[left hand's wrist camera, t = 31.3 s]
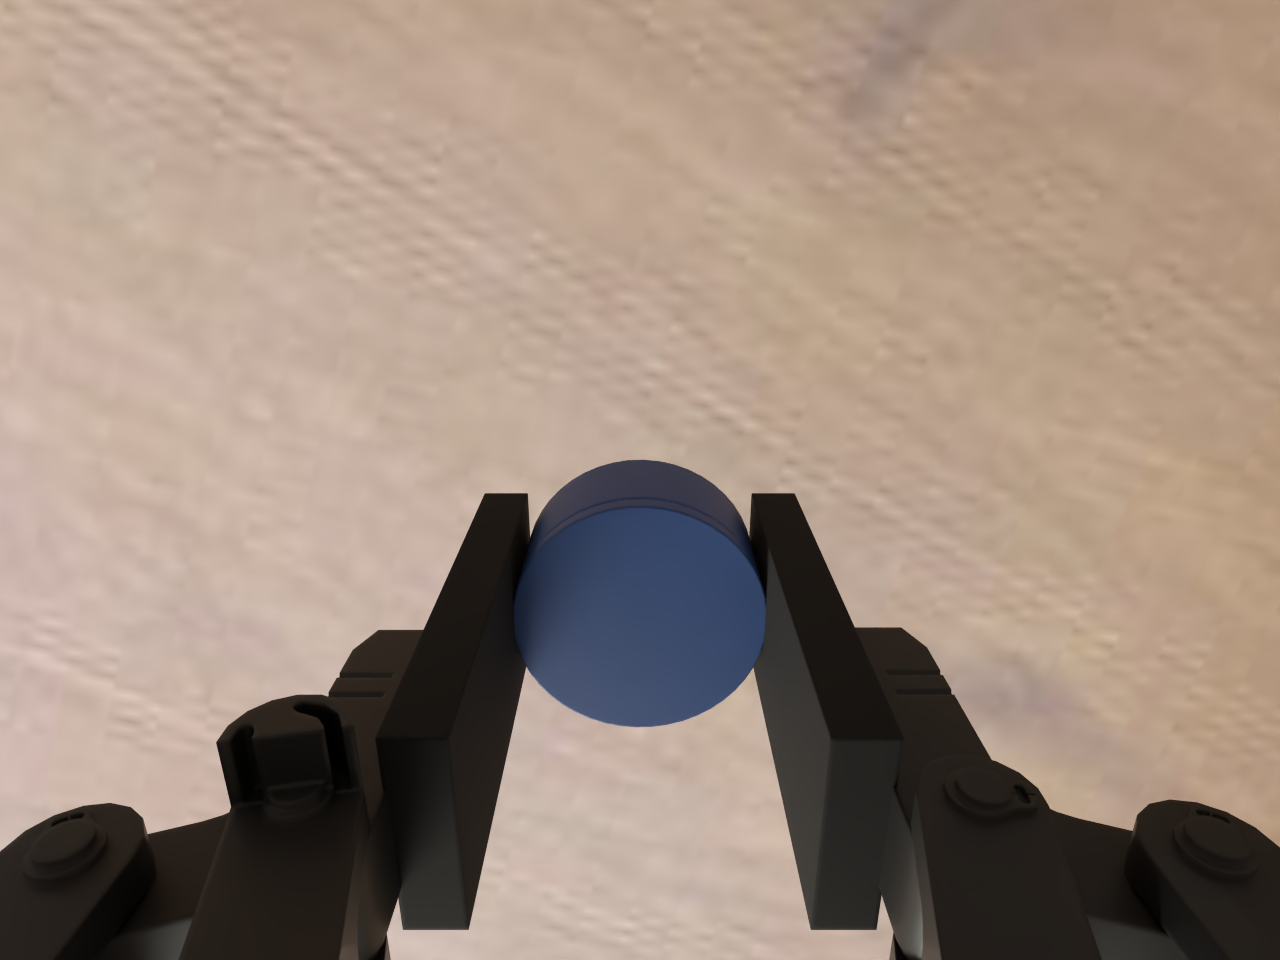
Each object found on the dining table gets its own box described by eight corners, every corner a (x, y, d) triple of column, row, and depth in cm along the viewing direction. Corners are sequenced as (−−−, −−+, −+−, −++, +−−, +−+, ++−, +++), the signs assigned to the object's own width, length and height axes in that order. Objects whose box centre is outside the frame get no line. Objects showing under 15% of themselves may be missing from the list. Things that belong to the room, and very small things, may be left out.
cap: (692, 686, 16) (699, 759, 14) (495, 611, 15) (475, 677, 13) (791, 511, 15) (814, 566, 13) (580, 421, 14) (570, 465, 12)
